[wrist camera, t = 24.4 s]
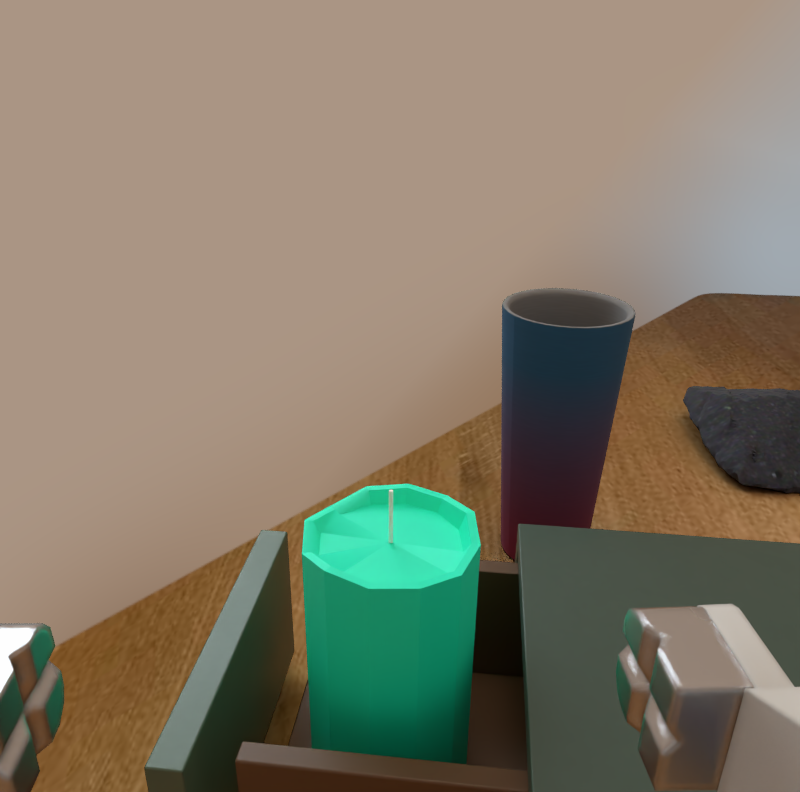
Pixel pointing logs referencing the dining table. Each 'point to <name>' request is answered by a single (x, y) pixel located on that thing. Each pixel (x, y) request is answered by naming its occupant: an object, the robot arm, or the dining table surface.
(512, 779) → the drawer
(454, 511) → the candle
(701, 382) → the dining table surface
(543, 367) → the cup
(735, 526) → the dining table surface
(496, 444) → the dining table surface
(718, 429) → the dark slate chunk
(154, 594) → the dining table surface
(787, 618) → the cabinet
